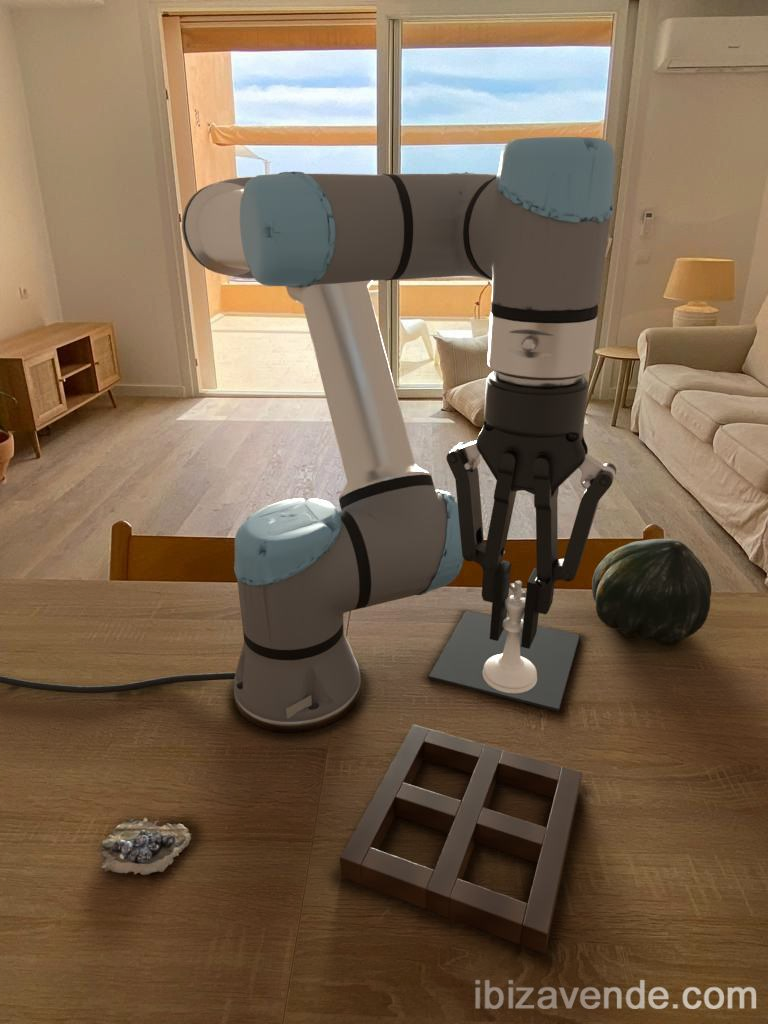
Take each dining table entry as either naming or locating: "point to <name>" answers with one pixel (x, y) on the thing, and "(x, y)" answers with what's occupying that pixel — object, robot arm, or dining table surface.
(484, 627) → the mat
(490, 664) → the chess piece
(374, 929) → the dining table surface
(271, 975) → the dining table surface
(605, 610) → the squash
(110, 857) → the blueberries
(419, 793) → the holder
